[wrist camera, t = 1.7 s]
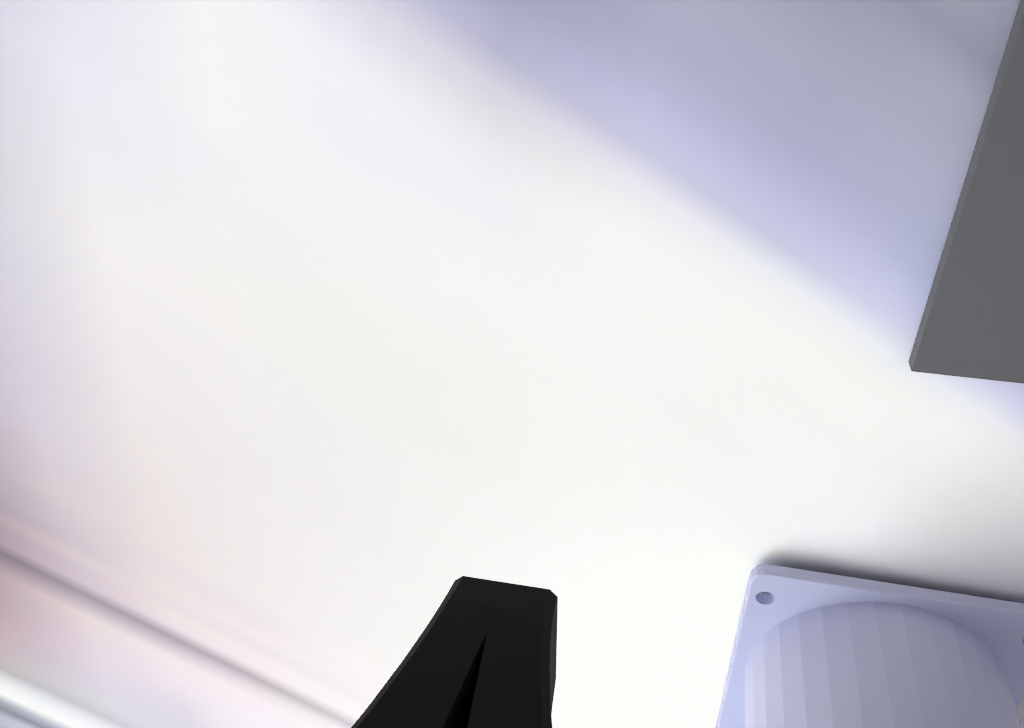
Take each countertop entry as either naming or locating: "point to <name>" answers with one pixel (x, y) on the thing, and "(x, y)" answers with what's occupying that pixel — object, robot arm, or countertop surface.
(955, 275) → the mat
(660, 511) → the countertop surface
